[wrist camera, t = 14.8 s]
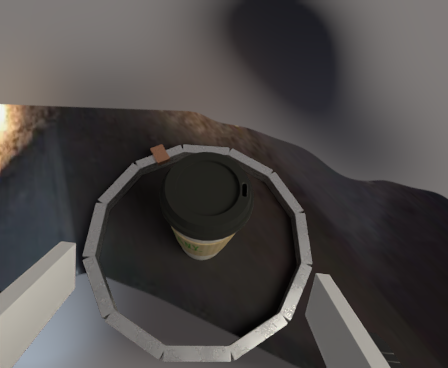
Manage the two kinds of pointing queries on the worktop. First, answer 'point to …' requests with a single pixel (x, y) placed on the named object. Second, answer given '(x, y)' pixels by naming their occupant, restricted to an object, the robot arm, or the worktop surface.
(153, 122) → the worktop surface
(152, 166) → the centring ring
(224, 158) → the coffee cup
